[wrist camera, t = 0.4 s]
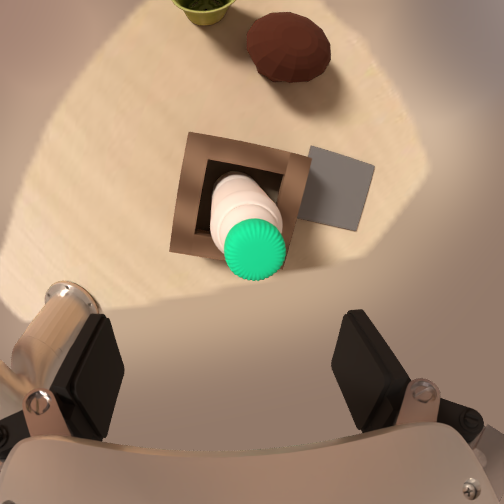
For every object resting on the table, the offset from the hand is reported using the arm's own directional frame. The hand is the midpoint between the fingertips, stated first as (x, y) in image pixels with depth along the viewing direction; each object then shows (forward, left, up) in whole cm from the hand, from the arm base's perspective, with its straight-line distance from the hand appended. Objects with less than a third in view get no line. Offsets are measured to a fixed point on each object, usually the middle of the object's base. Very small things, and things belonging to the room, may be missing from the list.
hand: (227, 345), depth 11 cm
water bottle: (0, -3, -36) cm, 36 cm away
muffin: (+23, -5, -36) cm, 43 cm away
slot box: (0, -3, -36) cm, 36 cm away
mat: (+4, -19, -36) cm, 41 cm away
